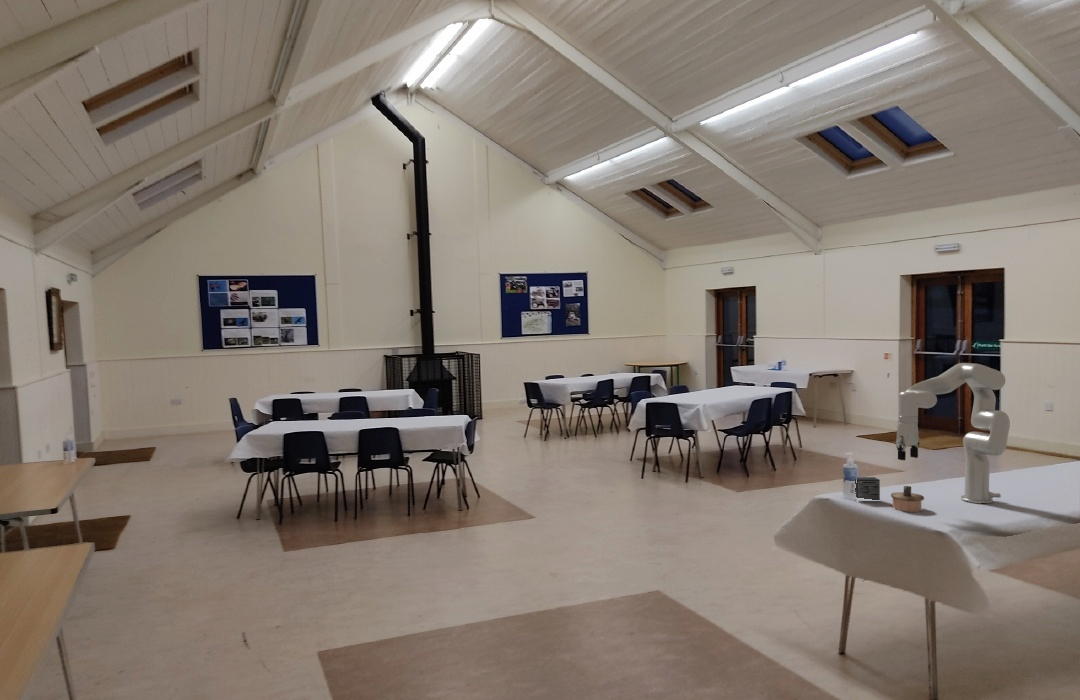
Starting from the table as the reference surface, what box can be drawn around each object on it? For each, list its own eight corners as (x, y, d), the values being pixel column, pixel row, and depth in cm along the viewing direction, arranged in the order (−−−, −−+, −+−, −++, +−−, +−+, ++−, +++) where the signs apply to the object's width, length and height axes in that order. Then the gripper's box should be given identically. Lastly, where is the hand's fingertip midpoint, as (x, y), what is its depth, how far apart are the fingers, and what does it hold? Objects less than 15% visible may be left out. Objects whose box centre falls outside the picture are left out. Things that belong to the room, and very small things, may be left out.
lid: (916, 494, 329) (917, 483, 329) (929, 501, 316) (929, 490, 316) (886, 493, 330) (886, 483, 330) (897, 500, 317) (897, 489, 317)
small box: (874, 498, 342) (874, 476, 341) (880, 502, 335) (880, 479, 335) (851, 498, 342) (851, 476, 342) (856, 502, 336) (857, 479, 335)
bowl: (915, 505, 328) (915, 494, 328) (925, 512, 317) (925, 500, 317) (889, 505, 329) (889, 494, 329) (898, 511, 318) (898, 500, 318)
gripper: (910, 417, 330) (910, 455, 331) (888, 420, 320) (888, 459, 321) (927, 419, 324) (927, 457, 324) (905, 422, 314) (905, 462, 315)
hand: (907, 458), depth 323 cm, fingers open, 9 cm apart
